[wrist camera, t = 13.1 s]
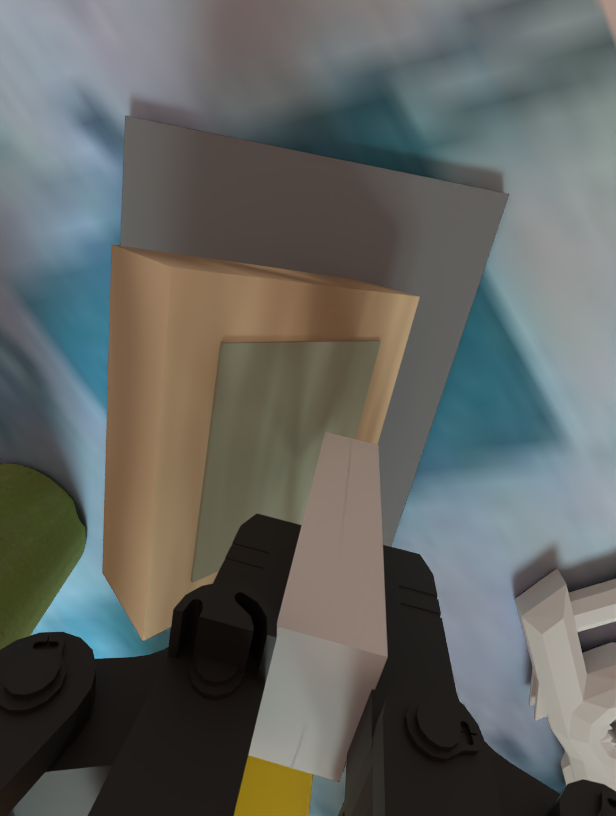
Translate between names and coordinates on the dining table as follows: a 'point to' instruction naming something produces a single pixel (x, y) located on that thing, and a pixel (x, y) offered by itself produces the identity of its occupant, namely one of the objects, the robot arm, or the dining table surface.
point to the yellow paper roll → (273, 790)
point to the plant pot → (33, 547)
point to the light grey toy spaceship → (573, 673)
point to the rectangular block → (228, 407)
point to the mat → (324, 247)
